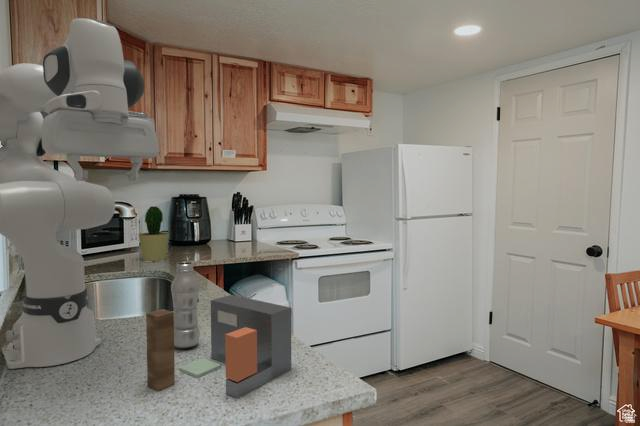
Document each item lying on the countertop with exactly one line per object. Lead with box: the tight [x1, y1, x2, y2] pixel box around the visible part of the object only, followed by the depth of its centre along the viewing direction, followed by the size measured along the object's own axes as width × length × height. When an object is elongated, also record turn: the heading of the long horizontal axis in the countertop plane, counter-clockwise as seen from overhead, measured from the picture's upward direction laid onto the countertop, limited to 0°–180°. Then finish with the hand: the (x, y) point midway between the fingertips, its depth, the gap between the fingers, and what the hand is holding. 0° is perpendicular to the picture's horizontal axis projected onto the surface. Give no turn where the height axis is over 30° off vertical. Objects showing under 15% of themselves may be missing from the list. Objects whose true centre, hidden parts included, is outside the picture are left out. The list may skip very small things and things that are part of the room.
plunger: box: [225, 327, 257, 382], centre depth 76 cm, size 3×5×8 cm, turn 144°
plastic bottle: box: [170, 261, 201, 349], centre depth 97 cm, size 6×7×20 cm
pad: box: [178, 357, 222, 379], centre depth 85 cm, size 6×6×1 cm
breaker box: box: [210, 294, 292, 399], centre depth 84 cm, size 18×15×13 cm
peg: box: [145, 308, 176, 392], centre depth 78 cm, size 4×4×14 cm
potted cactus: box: [138, 206, 170, 261], centre depth 221 cm, size 15×15×30 cm
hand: (108, 180), depth 78 cm, fingers open, 8 cm apart
